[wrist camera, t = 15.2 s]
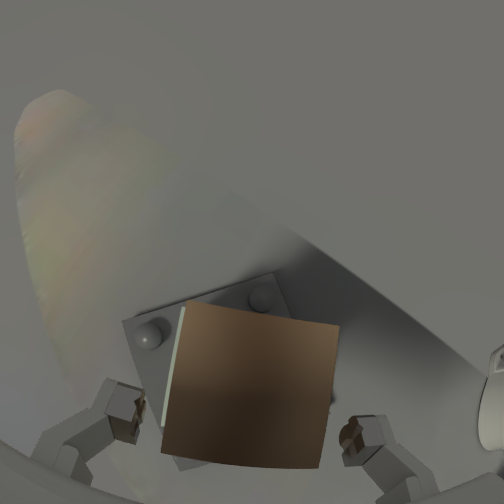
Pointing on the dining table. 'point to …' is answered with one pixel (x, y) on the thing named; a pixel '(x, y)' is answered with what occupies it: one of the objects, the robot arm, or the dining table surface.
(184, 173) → the dining table surface
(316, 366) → the walnut brick
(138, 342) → the baseplate
